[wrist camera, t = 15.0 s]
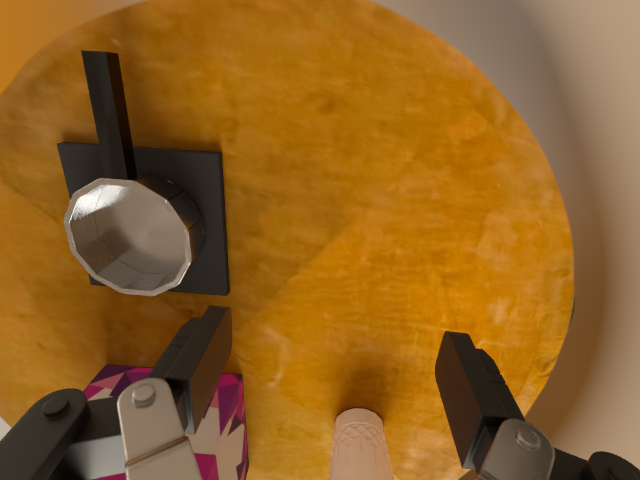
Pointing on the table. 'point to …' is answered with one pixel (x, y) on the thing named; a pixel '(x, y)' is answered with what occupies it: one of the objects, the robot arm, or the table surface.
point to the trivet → (191, 174)
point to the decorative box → (213, 432)
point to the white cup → (359, 447)
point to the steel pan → (129, 203)
